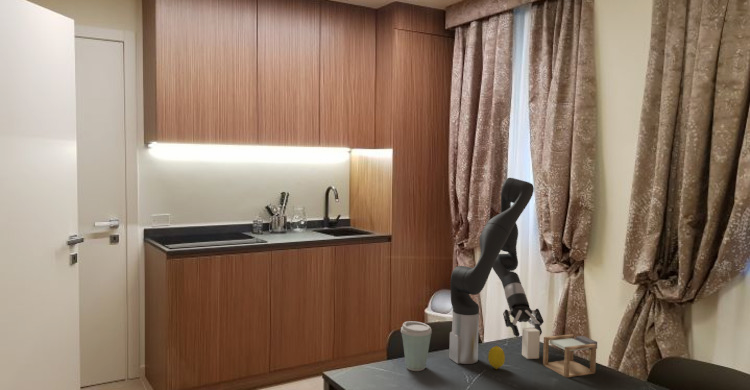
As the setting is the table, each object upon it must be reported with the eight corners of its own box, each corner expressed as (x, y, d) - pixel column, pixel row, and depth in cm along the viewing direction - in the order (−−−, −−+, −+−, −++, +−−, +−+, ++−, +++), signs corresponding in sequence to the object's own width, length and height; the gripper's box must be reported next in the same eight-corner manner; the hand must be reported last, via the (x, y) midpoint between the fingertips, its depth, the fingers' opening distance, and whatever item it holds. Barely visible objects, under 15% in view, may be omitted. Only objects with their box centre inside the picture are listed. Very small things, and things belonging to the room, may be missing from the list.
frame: (566, 377, 176) (567, 348, 175) (542, 364, 187) (543, 337, 187) (595, 373, 180) (596, 344, 179) (570, 361, 191) (571, 334, 191)
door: (567, 353, 177) (568, 346, 177) (549, 345, 186) (549, 338, 186) (599, 349, 182) (599, 342, 182) (580, 341, 190) (580, 334, 190)
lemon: (504, 372, 179) (505, 349, 179) (487, 371, 180) (488, 347, 180) (504, 366, 184) (504, 343, 184) (487, 365, 185) (488, 342, 185)
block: (527, 358, 193) (528, 331, 192) (521, 354, 197) (522, 327, 197) (538, 358, 193) (539, 331, 193) (533, 354, 198) (534, 327, 197)
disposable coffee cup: (433, 364, 186) (434, 321, 185) (429, 375, 175) (430, 330, 175) (402, 361, 188) (403, 318, 187) (397, 372, 178) (398, 327, 177)
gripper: (501, 292, 203) (514, 331, 193) (536, 291, 206) (550, 330, 195) (495, 303, 209) (507, 341, 198) (529, 301, 211) (543, 339, 201)
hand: (528, 335), depth 197 cm, fingers open, 8 cm apart
